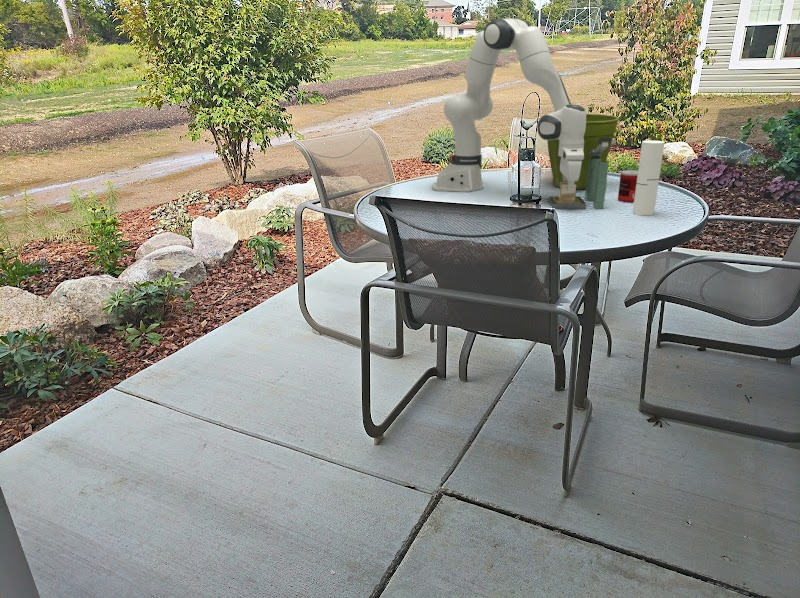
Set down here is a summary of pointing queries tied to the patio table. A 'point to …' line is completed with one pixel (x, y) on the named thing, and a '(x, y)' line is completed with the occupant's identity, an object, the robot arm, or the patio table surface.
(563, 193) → the block
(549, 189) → the patio table surface
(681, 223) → the patio table surface
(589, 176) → the press base
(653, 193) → the cylindrical container
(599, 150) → the press lever
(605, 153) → the plant pot
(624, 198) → the canned food
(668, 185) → the patio table surface
